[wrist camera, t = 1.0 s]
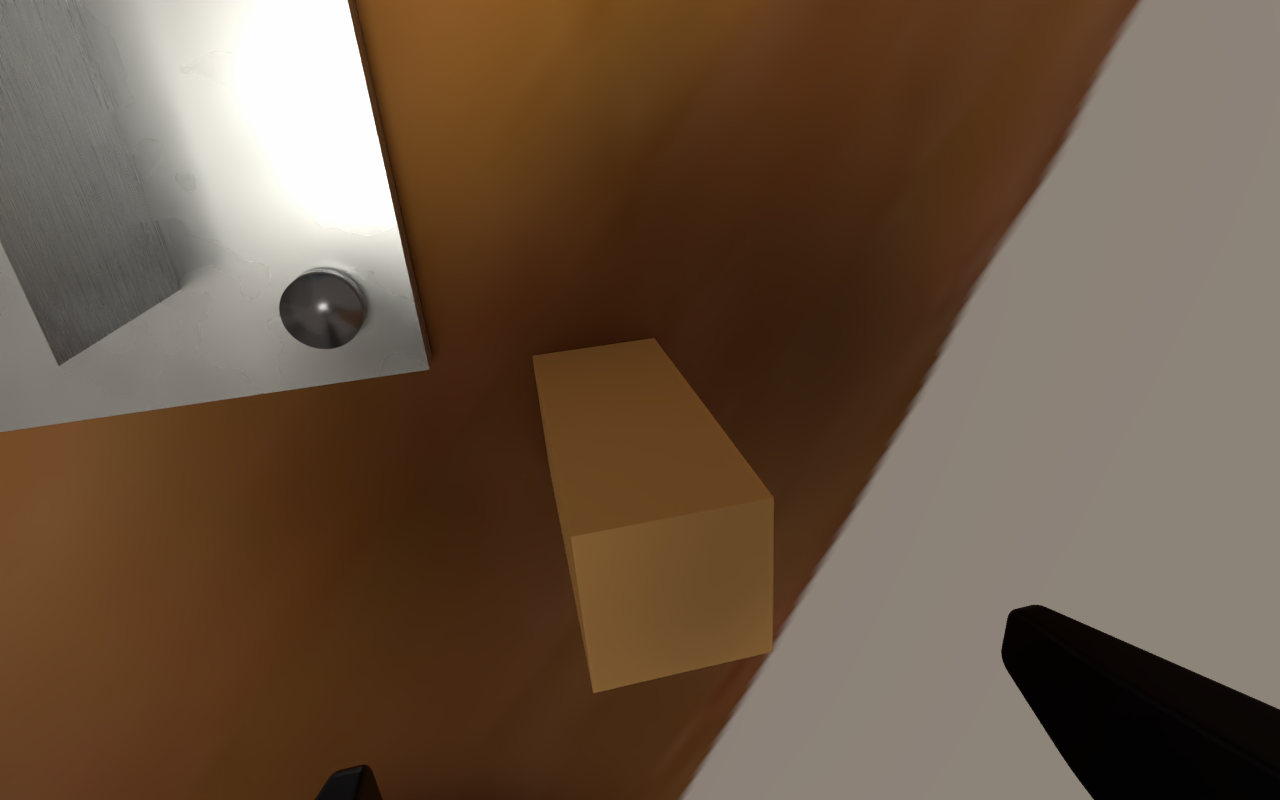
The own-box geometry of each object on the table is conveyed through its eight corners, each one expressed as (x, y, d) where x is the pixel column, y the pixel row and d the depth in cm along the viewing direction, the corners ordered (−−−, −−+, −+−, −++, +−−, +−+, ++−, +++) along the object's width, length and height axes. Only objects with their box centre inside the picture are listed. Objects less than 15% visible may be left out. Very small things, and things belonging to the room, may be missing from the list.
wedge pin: (661, 445, 19) (772, 651, 12) (548, 464, 18) (592, 693, 11) (654, 337, 18) (773, 497, 11) (532, 355, 17) (570, 537, 10)
